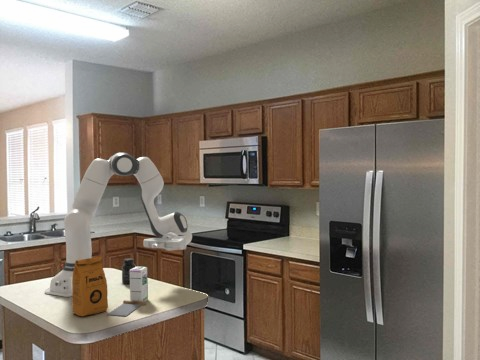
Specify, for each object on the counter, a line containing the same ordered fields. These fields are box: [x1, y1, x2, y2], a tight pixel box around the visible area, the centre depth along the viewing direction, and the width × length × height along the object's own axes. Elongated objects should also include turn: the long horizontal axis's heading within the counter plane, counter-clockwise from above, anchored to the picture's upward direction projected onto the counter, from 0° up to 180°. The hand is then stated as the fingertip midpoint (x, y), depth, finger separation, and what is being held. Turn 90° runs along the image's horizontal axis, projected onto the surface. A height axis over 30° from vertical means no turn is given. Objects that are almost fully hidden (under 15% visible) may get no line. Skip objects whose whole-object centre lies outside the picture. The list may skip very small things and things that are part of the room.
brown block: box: [122, 299, 147, 306], centre depth 173 cm, size 10×1×1 cm, turn 78°
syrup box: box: [129, 266, 149, 302], centre depth 177 cm, size 6×6×14 cm
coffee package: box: [71, 255, 109, 317], centre depth 163 cm, size 10×12×22 cm
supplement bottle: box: [121, 257, 137, 285], centre depth 206 cm, size 7×7×12 cm
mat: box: [106, 303, 142, 317], centre depth 166 cm, size 8×13×1 cm, turn 168°
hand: (154, 246), depth 188 cm, fingers closed
